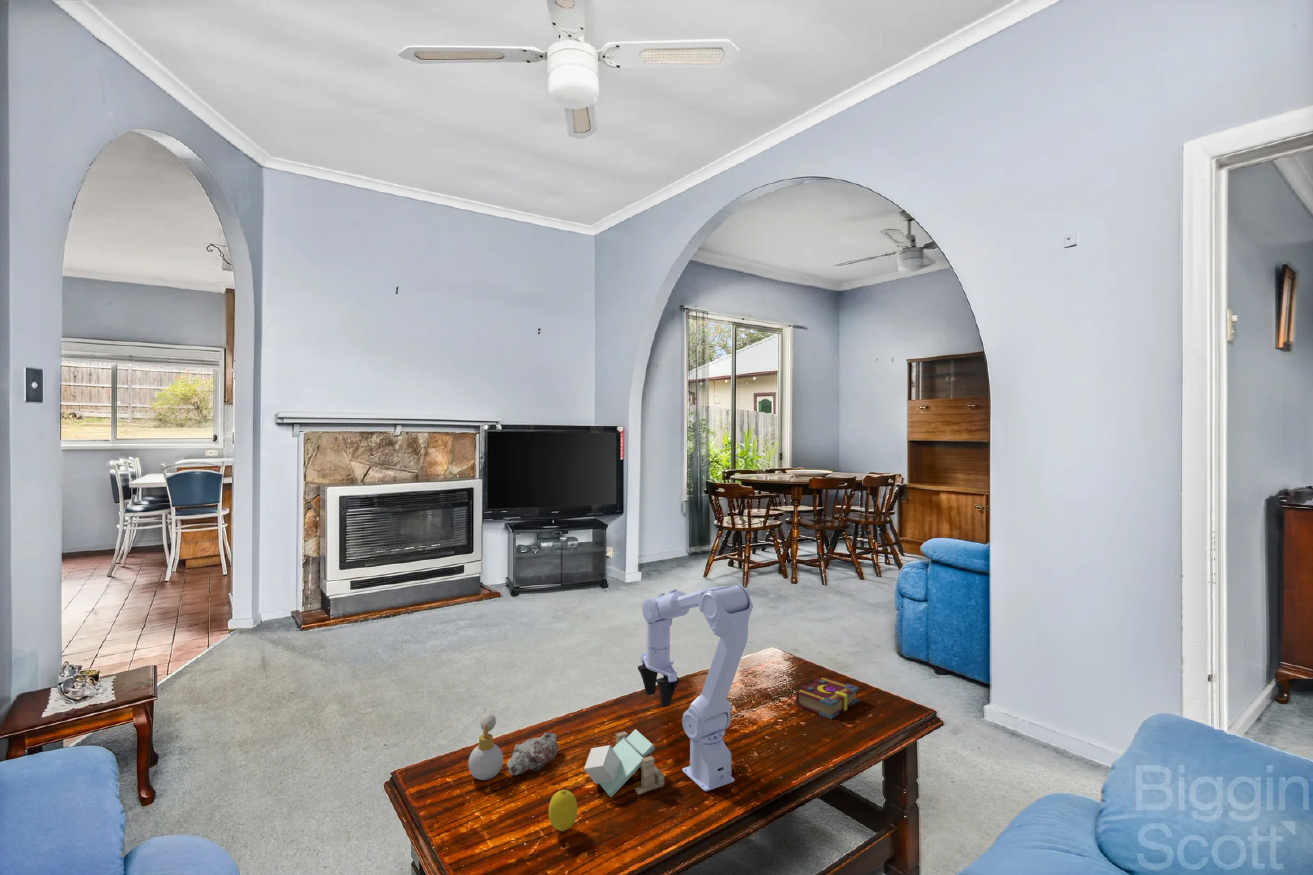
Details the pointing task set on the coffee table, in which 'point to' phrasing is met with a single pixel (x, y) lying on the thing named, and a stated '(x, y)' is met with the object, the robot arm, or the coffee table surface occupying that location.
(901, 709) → the coffee table surface
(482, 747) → the perfume bottle
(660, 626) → the robot arm
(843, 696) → the decorative book
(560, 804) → the lemon
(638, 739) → the trapdoor
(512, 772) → the mineral rock
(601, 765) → the white cube
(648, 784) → the frame
